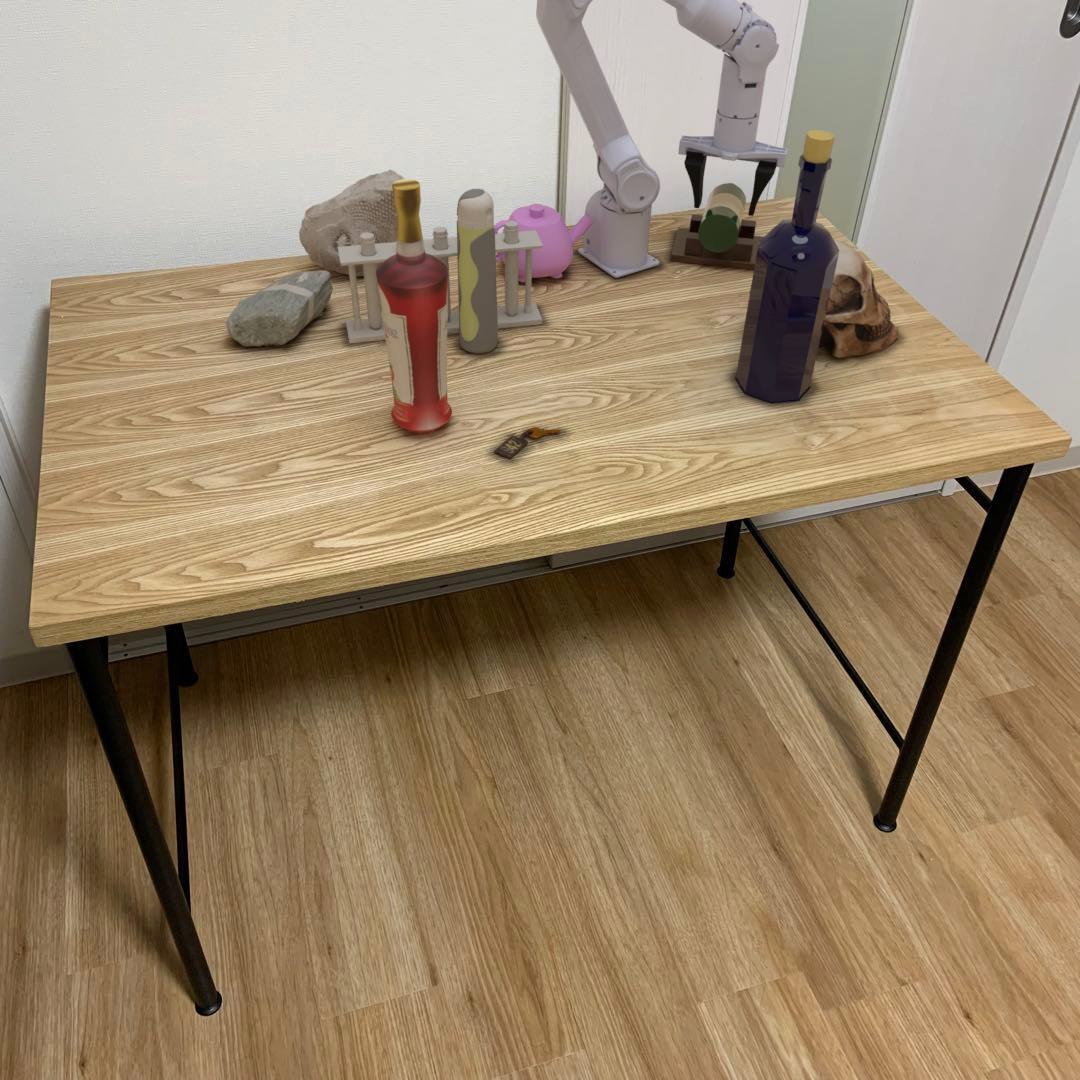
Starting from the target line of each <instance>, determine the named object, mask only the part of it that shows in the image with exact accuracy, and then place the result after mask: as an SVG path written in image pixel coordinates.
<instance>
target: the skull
mask: <svg viewBox="0 0 1080 1080" xmlns="http://www.w3.org/2000/svg"><path fill="white" fill-rule="evenodd" d="M834 241H835V243H836V245H837V247H838V248H839V250H840V251H839V256H838V260H837V265H836V269H835V274H834V279H833V283H832V288H831V292H830V297H829V302H828V306H827V311H826V315H825V320H824V324H823V329H822V334H821V338H820V343H819V347H820V346H821V347H822V346H823V347H828V348H829V350H830V353H831V356H833V357H834V358H838V359H843V358H847V357H854V356H863V355H866V354H870V353H874V352H877V351H878V350H881V351H884V350H885V349H886V348H888V347H889V346H890V345H891V344H892V343H894V342H895V340H898V338H899V329H898V328H897V326H896V325H895V323H893V322H892V321H891V318H892V317H891V309H890V306H889V303H888V302H887V300H886V298H885V297H884V296H882V295H881V294H880V293H878V291H877V289H876V286H875V276H874V274H873V271H872V269H871V268H869V267H868V265H867V264H866V262H865V260H864V258H863V257H862V255H861V254H860V253H859V252H858V251H856V249H854V248H853V247H852V246H851V245H849V243H846V242H844V241H842V240H839V239H834ZM750 290H751V287H750V289H749V291H750Z"/></svg>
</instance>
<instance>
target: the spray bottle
mask: <svg viewBox="0 0 1080 1080" xmlns="http://www.w3.org/2000/svg"><path fill="white" fill-rule="evenodd" d="M457 201H458V202H457V207H456V208H457V209H456V216H457V220H456V237H457V256H456V257H457V296H458V297H457V298H458V300H457V301H458V310H459V333H458V337H459V338H458V339H459V345H460V347H461V349H463V350H464V351H466V352H468V353H471V354H486V353H488V352H491V351H493V350H495V349H496V347H497V346H498V343H499V329H498V322H497V306H498V294H497V292H498V291H497V261H496V255H497V252H495V228H494V225H495V224H494V221H495V219H494V217H495V216H494V215H495V213H494V212H495V211H494V200H493V197H492V196H491V195H490V193H488V191H486V190H484V189H483V188H471V189H468V190H466V191H465V192H463V194H461V196H460V197H459V199H458V200H457Z"/></svg>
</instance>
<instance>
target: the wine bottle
mask: <svg viewBox="0 0 1080 1080" xmlns="http://www.w3.org/2000/svg"><path fill="white" fill-rule="evenodd" d="M746 206H747V198H746V194H745V192H744V191H743V190H742V188H741V187H739V186H738V185H737V184H735V183H733V182H727V183H721V184H719V185H717V186H716V187H714V188H713V189H712V191H711V192H710V194H709V196H708V199H707V202H706V205H705V207H704V211H703V214H702V215H703V217H702V220H701V224H700V227H699V231H698V235H699V240H700V242H701V244H702V245H703V246H704V247H705V248H706V249H708V250H710V251H712V252H724V251H727V250H729V249H730V248H732V247H733V246H734V244H735V243H736V241H737V239H738V235H739V231H740V227H741V223H742V220H744V214H745V210H746Z"/></svg>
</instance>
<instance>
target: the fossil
mask: <svg viewBox="0 0 1080 1080" xmlns="http://www.w3.org/2000/svg"><path fill="white" fill-rule="evenodd" d="M402 179H405V178H404V176H402V175H400V174H399V173H397V172H396V171H394V170H392V169H388V170H386V171H383V172H379V173H375V174H370V175H368V176H366V177H363V178H360V179H359V180H357V181H356V182H355V183H352V184H351V185H349V186H348V187H346V188H345V189H343V190H342V191H341V192H340V193H339V194H337V195H335V196H333V197H331V198H330V199H328V200H325V201H322V202H321V203H317V204H314V205H311V206H310V207H309V208H307V209H306V210H305V212H304V217H303V219H302V220H301V224H300V225H301V227H300V228H299V231H298V234H299V235H298V236H299V241H300V244H301V246H302V247H303V248H304V251H305V252H306V253H307V254H308V258H309V259H310V261H311V262H312V263H313V264H316V265H317V266H320V267H322V268H324V269H326V270H327V271H334V272H337V273H339V274H343V275H347V276H349V268H348V265H346V266H341V264H340V258H339V252H338V247H343V246H355V245H361V242H360V235H361V234H363V233H372V234H374V238H375V244H379V243H391V242H396V240H397V238H396V236H397V214H396V210H395V206H394V202H393V189H392V184H393V183H394V182H395V181H398V180H402ZM361 255H362V254H361ZM382 263H383V262H380V263H377V268H378V267H379V266H380V264H382ZM355 271H356V278H357V277H358V278H359V277H364V272H363V264H357V265H355Z"/></svg>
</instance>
